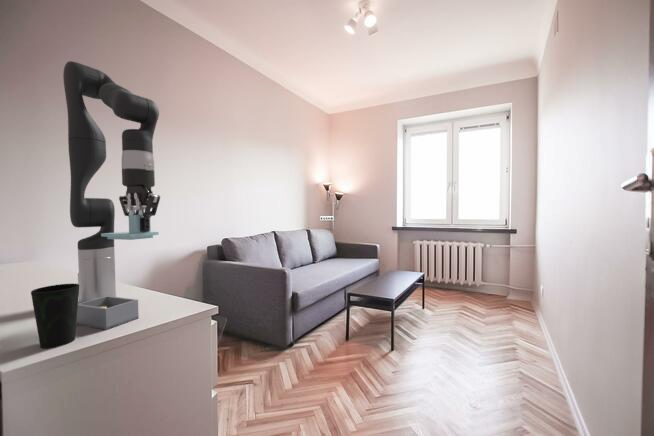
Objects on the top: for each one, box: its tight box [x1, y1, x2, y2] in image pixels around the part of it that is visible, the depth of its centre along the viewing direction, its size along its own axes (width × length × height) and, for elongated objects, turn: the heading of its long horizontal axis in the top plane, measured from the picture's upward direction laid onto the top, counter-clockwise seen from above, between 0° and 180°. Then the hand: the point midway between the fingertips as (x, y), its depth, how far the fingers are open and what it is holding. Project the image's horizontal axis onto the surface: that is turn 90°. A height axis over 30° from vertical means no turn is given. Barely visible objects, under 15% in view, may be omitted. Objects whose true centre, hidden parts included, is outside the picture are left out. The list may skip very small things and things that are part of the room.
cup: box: [30, 283, 79, 349], centre depth 63 cm, size 8×8×12 cm
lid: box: [101, 215, 159, 241], centre depth 81 cm, size 12×8×7 cm, turn 68°
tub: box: [76, 296, 140, 331], centre depth 75 cm, size 12×8×5 cm, turn 69°
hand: (140, 231), depth 80 cm, fingers closed on lid, 3 cm apart
